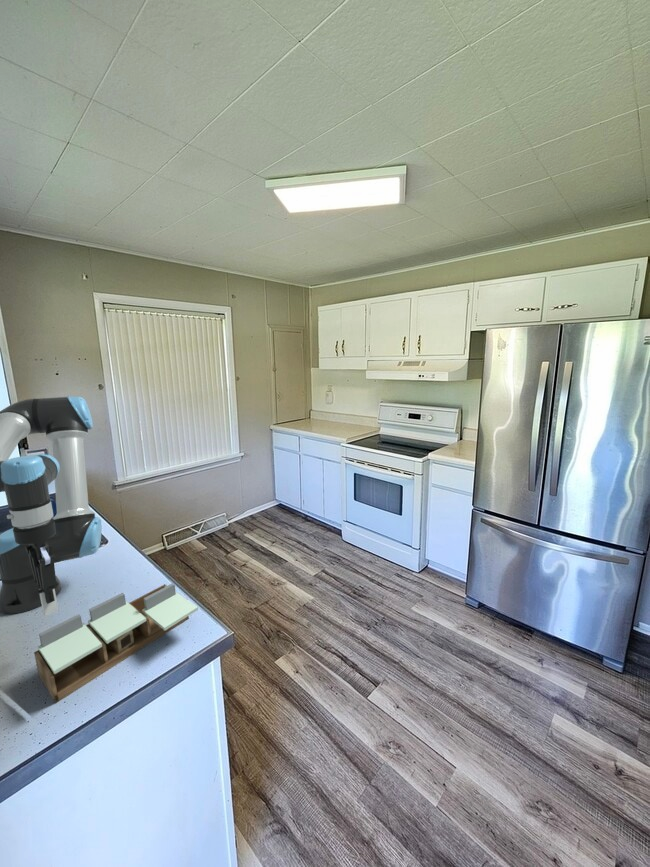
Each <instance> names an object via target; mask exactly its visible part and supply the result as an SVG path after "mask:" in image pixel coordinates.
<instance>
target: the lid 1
mask: <svg viewBox="0 0 650 867" xmlns="http://www.w3.org/2000/svg"><path fill="white" fill-rule="evenodd" d="M86 625H87V624H85V623H84V622H83V621H82V616H81V615H80V613H78V614H76V615H74V616H73V617H70V618H68V619H66V620H64V621H62V622H61V623H58V624H56V625H54V626H51V627H50V628H48V629H46V630H44V631H41V632H40V633H39V634H38V636H39V641H40V645H38V646H37V649H38V650H39V651H40V653H41V654H42V656H43V657H44V659H45V660H46V662H47V664H48V665H49V667H50V668H51V670H52V671H53V673H54V674H56V673H58V672H59V671H61V670H63V669H65V668H66V667H68V666H70V665H71V664H73V663H75V662H77V661H78V660H80V659H82V658H83V657H85V656H87V655H89V654H90V653H92V652H94V651H95V650H97V649H99V648H101V647H102V643H101V642H100V641H99V640H98V639H97V638H96V636H95V635H94V634H93V633H92V632H91V631H90V630H89V629H88V628H87V626H86ZM38 650H37V651H38Z"/></svg>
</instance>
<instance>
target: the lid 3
mask: <svg viewBox="0 0 650 867" xmlns="http://www.w3.org/2000/svg"><path fill="white" fill-rule="evenodd" d="M144 605H145V608H144V609H142V611H143V613H144V614H145V615H147V616H148V617H149V618H150V619H151V620H153V621H154V622H155V623H156V624H157V625H159V626H160V627H161V628H162V629H163V630H164V631H165V630H167V629H168V628H170V627H172V626H173V625H175V624H176V623H178V622H180V621H181V620H183V619H184V618H186V617H187V616H189V617H190V616H191V615H192V614H194V613H195V612H198V610H199V607H198V606H197V605H195V604H194V603H193V602H191V601H190V600H188V599H187V598H186V597H184V596H183V595H182V594H180V593H178V592H177V591H176V585H175V584H174V583H173V582H172V583H170V584H168V585H167V586H166V587H164V588H162V589H160V590H158V591H157V592H155V593H153V594H151V595H149V596H147V597H145V598H144Z"/></svg>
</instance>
